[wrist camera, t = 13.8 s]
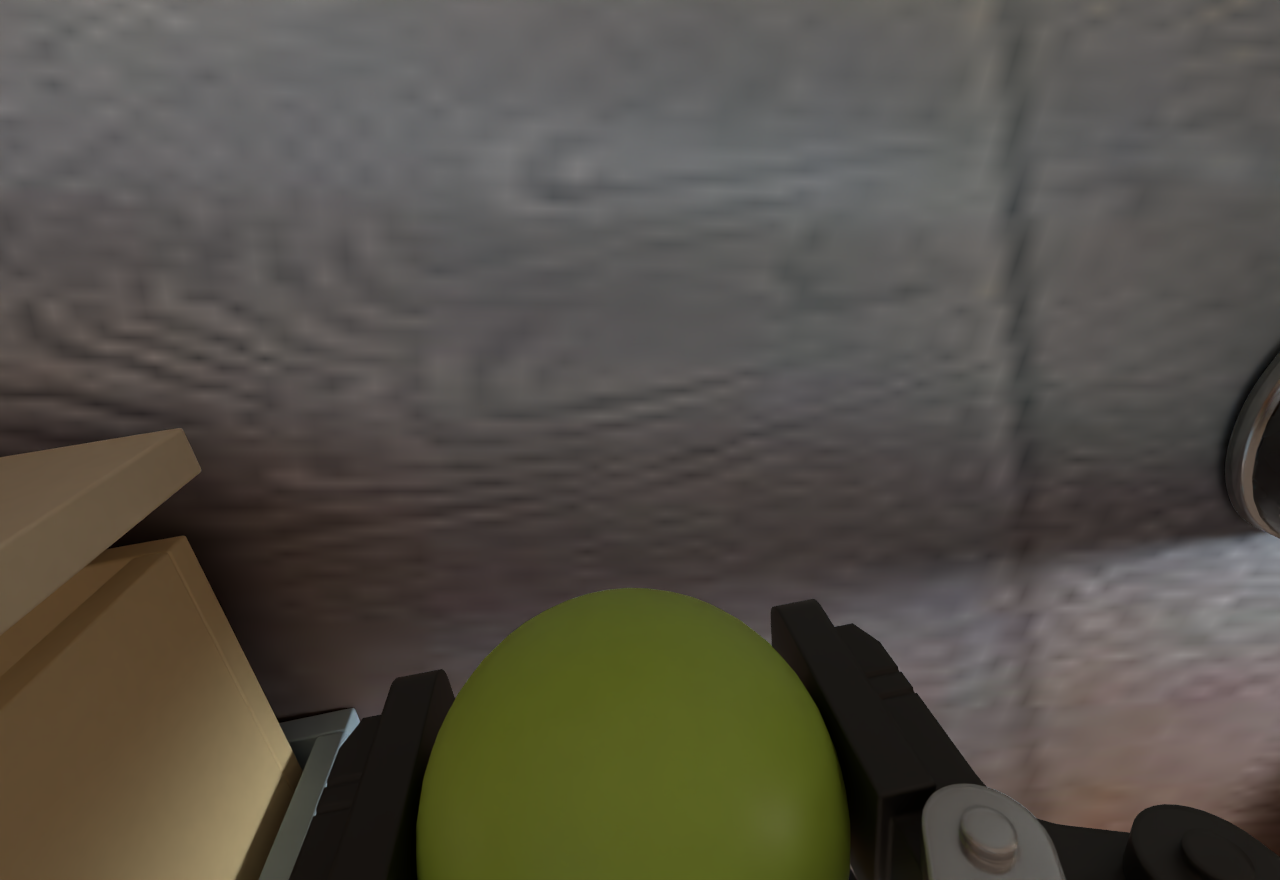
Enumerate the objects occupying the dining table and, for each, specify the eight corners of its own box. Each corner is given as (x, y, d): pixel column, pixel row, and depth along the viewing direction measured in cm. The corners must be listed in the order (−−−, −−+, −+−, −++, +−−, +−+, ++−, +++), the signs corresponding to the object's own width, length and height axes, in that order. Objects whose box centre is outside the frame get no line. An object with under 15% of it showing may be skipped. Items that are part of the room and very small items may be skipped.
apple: (556, 460, 9) (561, 993, 3) (825, 598, 11) (1174, 1117, 5) (397, 712, 11) (185, 1420, 4) (657, 799, 12) (761, 1398, 6)
